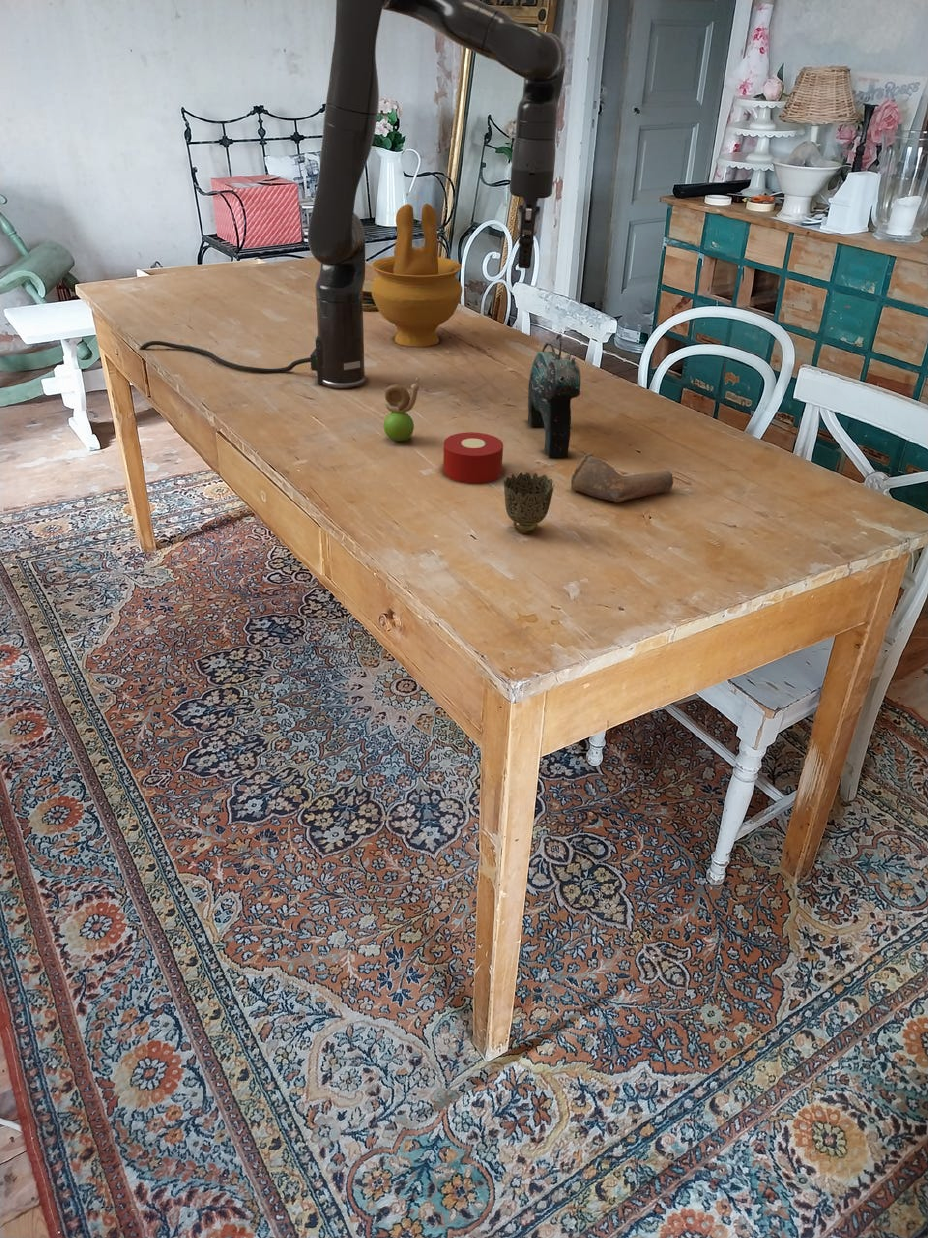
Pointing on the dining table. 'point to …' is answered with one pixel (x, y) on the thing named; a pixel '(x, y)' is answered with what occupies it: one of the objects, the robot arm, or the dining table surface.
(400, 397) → the snail figurine
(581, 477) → the pipe
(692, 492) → the dining table surface
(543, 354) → the ceramic cat
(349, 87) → the robot arm
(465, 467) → the cheese
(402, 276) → the decorative bowl
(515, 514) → the cup
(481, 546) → the dining table surface
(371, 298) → the toy sandwich meal
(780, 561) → the dining table surface
